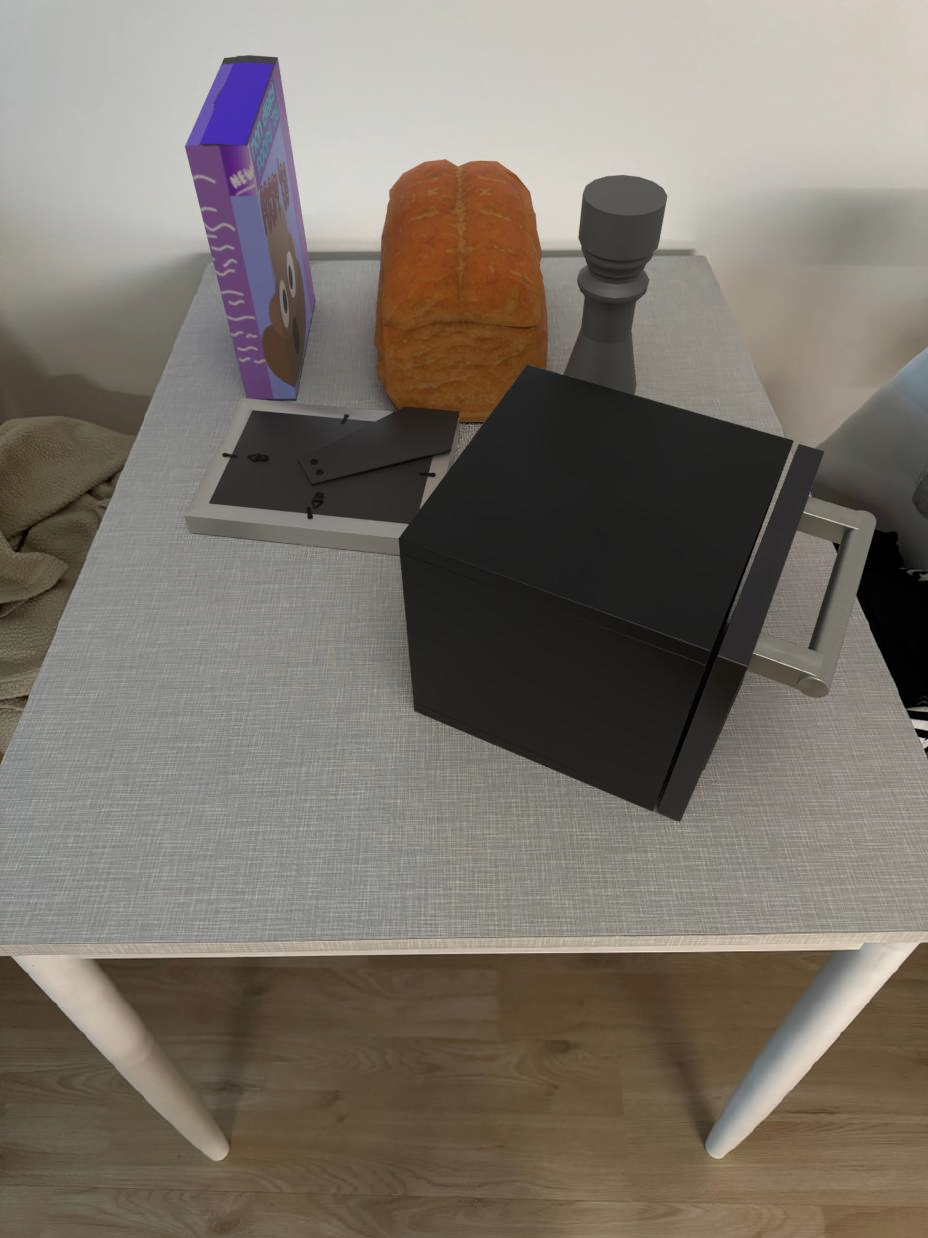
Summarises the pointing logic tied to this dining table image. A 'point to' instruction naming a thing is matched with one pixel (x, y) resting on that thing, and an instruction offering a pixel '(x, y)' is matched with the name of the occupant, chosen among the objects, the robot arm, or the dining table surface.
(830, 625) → the oven door
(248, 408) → the picture frame
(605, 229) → the candle holder
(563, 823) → the dining table surface
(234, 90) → the cereal box
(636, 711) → the oven
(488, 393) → the bread
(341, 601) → the dining table surface
